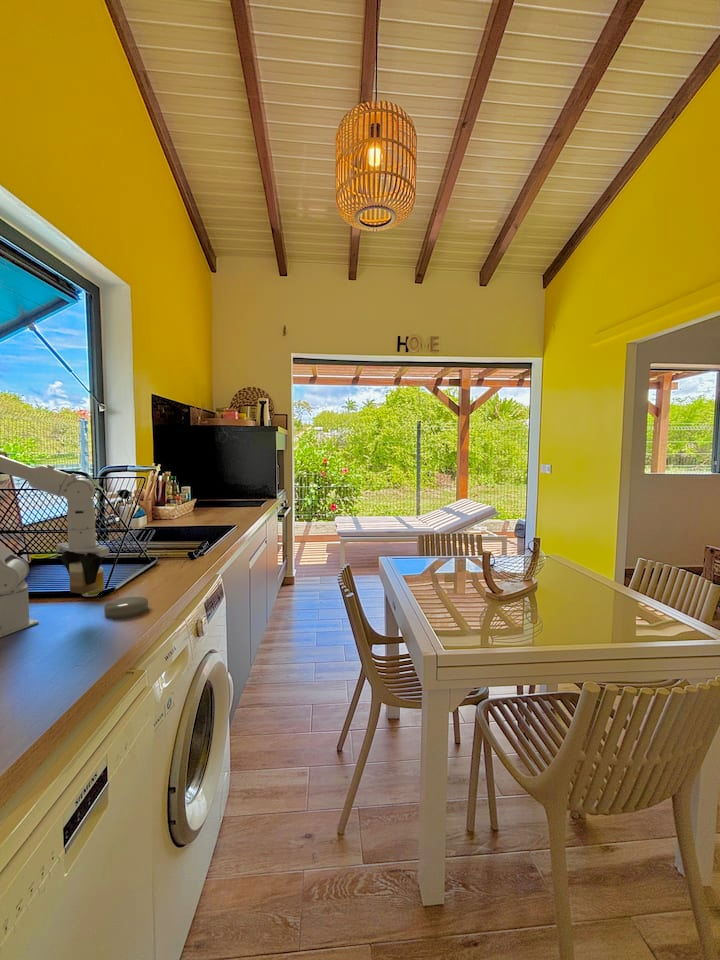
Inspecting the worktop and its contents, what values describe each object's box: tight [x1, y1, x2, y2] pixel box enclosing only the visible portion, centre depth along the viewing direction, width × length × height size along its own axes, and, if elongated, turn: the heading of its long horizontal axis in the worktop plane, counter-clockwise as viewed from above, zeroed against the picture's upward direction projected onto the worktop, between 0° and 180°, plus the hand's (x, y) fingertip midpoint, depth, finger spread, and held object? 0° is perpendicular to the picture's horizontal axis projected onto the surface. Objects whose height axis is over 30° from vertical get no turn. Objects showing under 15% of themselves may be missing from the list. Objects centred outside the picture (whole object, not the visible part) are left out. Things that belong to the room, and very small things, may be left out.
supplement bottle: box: [81, 566, 105, 598], centre depth 127 cm, size 5×5×10 cm
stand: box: [103, 596, 149, 619], centre depth 115 cm, size 10×10×2 cm
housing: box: [68, 561, 97, 595], centre depth 109 cm, size 4×4×7 cm
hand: (83, 582), depth 109 cm, fingers closed on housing, 4 cm apart
